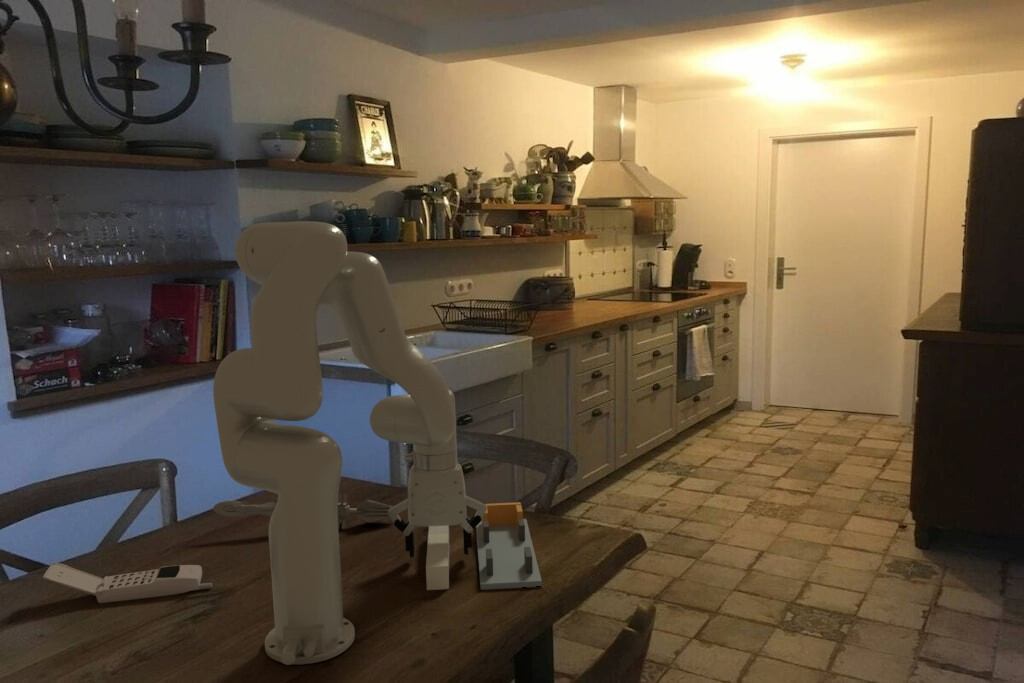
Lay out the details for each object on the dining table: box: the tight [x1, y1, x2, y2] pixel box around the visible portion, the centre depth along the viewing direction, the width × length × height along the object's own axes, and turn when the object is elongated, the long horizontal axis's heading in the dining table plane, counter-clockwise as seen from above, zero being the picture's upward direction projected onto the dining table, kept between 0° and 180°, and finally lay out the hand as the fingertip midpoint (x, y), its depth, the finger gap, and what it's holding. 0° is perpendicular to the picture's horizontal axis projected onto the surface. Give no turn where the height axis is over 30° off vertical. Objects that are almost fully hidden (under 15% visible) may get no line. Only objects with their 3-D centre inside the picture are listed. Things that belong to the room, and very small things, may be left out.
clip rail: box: [475, 501, 543, 591], centre depth 146 cm, size 28×10×5 cm, turn 4°
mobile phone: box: [42, 562, 213, 604], centre depth 134 cm, size 6×6×25 cm
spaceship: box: [212, 493, 393, 530], centre depth 160 cm, size 8×35×8 cm
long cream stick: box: [425, 526, 450, 591], centre depth 144 cm, size 22×4×4 cm, turn 4°
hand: (439, 552), depth 144 cm, fingers open, 9 cm apart
